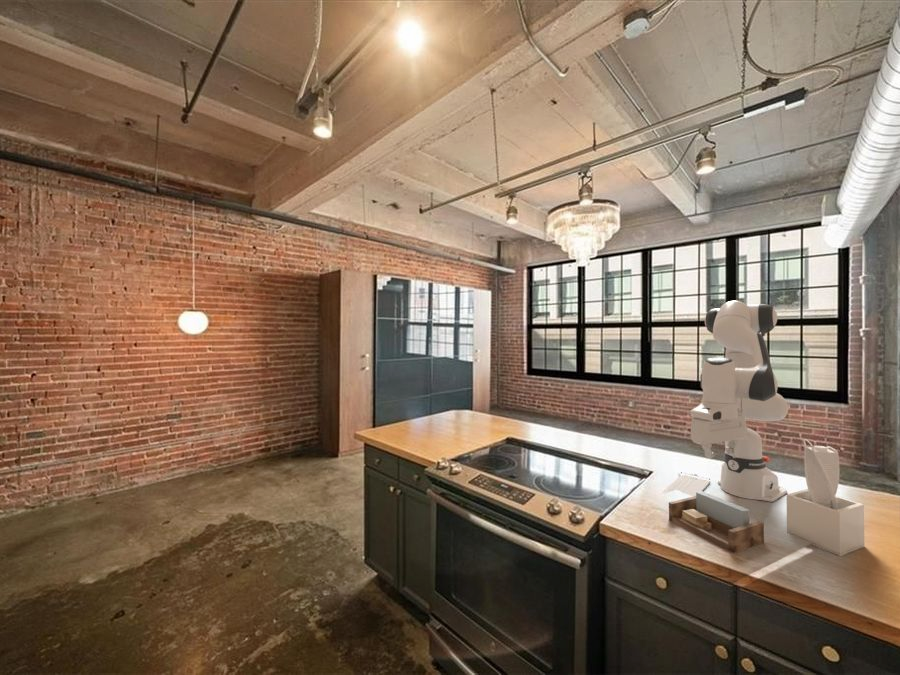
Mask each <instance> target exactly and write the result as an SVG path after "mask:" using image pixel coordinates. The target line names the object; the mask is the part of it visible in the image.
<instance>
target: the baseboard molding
mask: <svg viewBox="0 0 900 675" xmlns="http://www.w3.org/2000/svg"><path fill="white" fill-rule="evenodd" d="M681 474H683V472H680V473H679V472H678V477H677V478H676V479H675V480H674V481H673V482H672V483H671V484H670V485H669V486H668V487H666V488H665V489H664V490H663V491H662V492H661V493H660V495H664V494H666V493H670V492H673V491H679V492H681V493H683V494H686V495H688V496H690V497H694V496H696V492H699V491H703V492H705V490H706V489H707V488H708V486H709V485H710V484H711V478H709V479H708V478H706V479H704V477H703V476H701V478H700V476H698V474H695V476H696V477H695V476H694V477H693V476H692V475H691V474H687V473H686V472H684V474H685V475H681ZM686 474H687V475H686ZM698 477H699V478H698Z"/></svg>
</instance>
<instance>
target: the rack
mask: <svg viewBox="0 0 900 675" xmlns="http://www.w3.org/2000/svg"><path fill="white" fill-rule="evenodd" d="M690 509H694V510H696V496H689V497H687V498H686V497H685V498H682V499H679V500H678V499H677V500H673V501H670V502H668V521H670V522H672V523H674V524H676V525H678V526H680V527H682V528H684V529H685V530H688V531H690V532H692V533H693V534H695V535H698V536H700V537H701V538H703V539H705V540H707V541H709V542H711V543H713V544H715V545H717V546H718V547H721V548H723V549H725V550H727V551H729V552H731V553H733V554H734V553H737V552H740V551H742V550H743V551H744V550H746V549H749V548H752V547H755V546H757V545H758V546H759V545H761V544H763V543H765V529H764V527H765V526H764V522H762V521H760V520H758V521H754V522H751V523H750V522H749V524H747V525H744V526H741V527H737V528H733V527H730V526H728V525H726V524H724V523H722V522H719V521H717V520H715V519H713V518H711V517H708V516H707V522H709V523H711V530H713V531H716V532H718V533H720V534H723V535H725V536H726V537H727V538H728V540H725V539H723V538H721V537H718V536H717V535H715V534H713V533H711V532H710V531H705V530H703V529H701V528H699V527H697V526H695V525H693V524H691V523H688V522H686V521H684V520H682V519H681V517H682V511H683V510H690ZM696 511H697V510H696Z"/></svg>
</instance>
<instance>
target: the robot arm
mask: <svg viewBox="0 0 900 675" xmlns="http://www.w3.org/2000/svg"><path fill="white" fill-rule="evenodd" d="M777 322H778V314H777V311H776V310H775V309H774V306H772V305H771V304H765V303H760V304H747V303H745V302H743V301H740V300H730V301H727V302H724V303H723V304H722V305H721V306H720V308H719V307H717V308H712V309H710V310H708V311H707V312H706V314H705V316H704V325H705V327H706V330H707V331H708V332H709V333H711V334H712V335H713V339H714V340H715V341H716V343H718V344H719V345H720V346H721V347H722V348H725V354H724V357H723V356H722V357H719V356H717V357H716V356H715V357H710V358H709V357H708V358H706V359H704V361H703V364H702V365H703V366H702V371H701V373H700V375H699V376H700V378H699V379H700V388H701V389H702V393H703V394H702V398H701V403H700V404H699V405H697V406H695V407H694V408H693V409H691V410H690V413H689V414H690V417H692V419H691V422H690V438H691V441H692V442H693V443H695V444H698V445H700V446H701V447H702V450H703V451H704V457H705V458H707V459H713V458H715V456H714V455H715V452H714V451H712V447H713V444H719V443H724V448H725V450H724V453H723V461H724V463H722V464H721V472H720V473H721V474H720V479H718V480H717V483H718V484H719V485H720V489H722V490H723V491H724V492H726V493H727V494H730V495H732V496H736V497H740V498H743V499H749V500H758V501H763V502H771V503H773V502H775V501H777V500H778V499H780V498H781V497H783V496H784V495H785V494H786V495H787V493H788V490H787V489H786V488H784V487H782V486H780V485H779V477H778V475H776V474H775V472H772V470H770V469H769V468H768V467H767V465H766V464H767V463H769V462H770V460H771V459H770V457H769V456H765V455H763V439H762V437H761V435H760V434H759V433H758V432H757V431H755V430H754V429H752V428H749V427H747V420H749V421H758V422H777V421H780V422H781V421H782V420H783V419H784V418H786V416H787V415H788V413H789V404H788V402H787V400H786V398H784V397H783V395H781V394H780V393H778V389H779V388H778V381H777V380H778V379H777V376H776V375H775V374H774V372H773V371H774V370H773V368H772V364H771V360H770V355H769V351H768V347H767V344H766V341H765V339H764V337H765V335H766V334H767V333H770V332H771V331H772V330H774V329H775V327H776V325H777Z"/></svg>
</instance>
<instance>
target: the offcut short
mask: <svg viewBox="0 0 900 675" xmlns="http://www.w3.org/2000/svg"><path fill="white" fill-rule="evenodd" d="M682 517H684V518H685V519H687V520H689V521H691V522H692V523H694V524H696V525H697V524H704V523H707V516H706V515H704V514H702V513H700V512H698V511H696V510H694V509H690V510H683V511H682Z"/></svg>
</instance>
